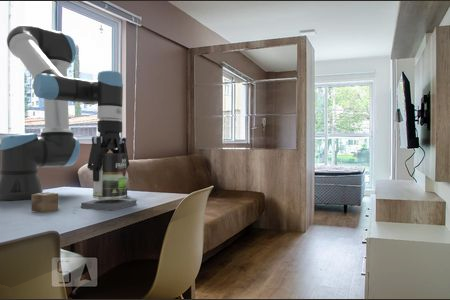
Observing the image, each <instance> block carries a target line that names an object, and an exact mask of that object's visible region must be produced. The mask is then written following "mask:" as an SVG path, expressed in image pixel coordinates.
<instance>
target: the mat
mask: <svg viewBox="0 0 450 300" xmlns="http://www.w3.org/2000/svg"><path fill="white" fill-rule="evenodd" d="M135 205H137V199H132V198H131V199H130V198H119V199H93V200H89V201H83V202H80V208H81V209H94V210H103V211H104V210H105V211H117V210H121V209H124V208H127V207H128V208H129V207H131V206H135Z"/></svg>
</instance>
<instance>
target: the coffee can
mask: <svg viewBox="0 0 450 300" xmlns="http://www.w3.org/2000/svg"><path fill="white" fill-rule="evenodd" d="M127 153H128V152H127ZM127 153H121V154H114V153H113V152H107V154H104V153H103V154H102V153H99V157H103V162H102V167H101V170H100V171H103V185H102V192H94V181H93V180H92V182H93V183H92V198H93V199H94V200H97V199H119V198H120V199H125V198H126V197H127V196H126V188H127V184H126V171H127V168H126V156H127Z"/></svg>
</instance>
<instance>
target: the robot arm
mask: <svg viewBox="0 0 450 300" xmlns="http://www.w3.org/2000/svg"><path fill="white" fill-rule="evenodd" d="M6 44H7V48H8V49H9V52H10V53H11V54H12V55H13V56H14V57H16V58H18V59H20V61H21V62H22V65H24V67H25V69H26V70H27V71H28V72H29V73H30V75H31V77H32V78H33V83H32V88H33V94H34V95H35V96H36V97H37V98H39V99H43V105H44V106H43V108H44V110H43V111H44V129H43V130H42V131H41V132H40V136H39V135H38V133H36V132H31V133H30V132H28V133H18V134H10V135H9V134H8V135H7V134H6V135H4V136H2V138H1V140H0V201H19V200H31V197H32V195H33V194H37V193H44V189H43V188H42V185H41V181H40V178H39V175H38V172H39V171H38V169H39V168H64V167H71V166H73V165H74V164H75V163H76V162H77V160H78V158H79V156H80V152H81V143H80V141H79V139H78V138H77V137H75V136H74V132H73V131H72V130H71V129H70V124H69V116H70V115H69V102H73V103H83V104H84V105H90V106H91V105H97V119H98V121H97V132H98V133H99V136H92V137H91V148H90V152H89V158H88V162H87V166H86V167H87V169H88V170H89V171H92V182H93V181H94V192H102V185H103V171H100V170H101V167H102V162H103V157H99V153H102V154H103V153H104V154H107V153H109V152H110V151H111V153H114V154H121V153H127V156H126V169H128V168H129V166H130V159H129V154H128V149H127V148H128V147H127V138H126V137H121V136H120V133H123V121H122V120H123V98H124V96H123V92H124V91H123V90H124V84H123V75H122V74H121V73H120V72H118V71H116V70H100V71H99V72H98V73H97V78H96V80H88V79H81V78H75V77H68V71H67V70H68V69H69V68H70V67H71V64H73V63H74V62H75V60H76V56H77V46H76V42H75V40H74V38H73V37H72V36H71V35H70V34H68V33H65V32H62V31H59V30H54V29H49V28H45V27H41V26H37V25H34V24H27V23H26V24H19V25H17V26H15V27H13V28H12V29H11V30H10V31H9V32H8V34H7V37H6Z"/></svg>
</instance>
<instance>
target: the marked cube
mask: <svg viewBox="0 0 450 300" xmlns="http://www.w3.org/2000/svg"><path fill="white" fill-rule="evenodd" d="M30 200H31V211H34V213H41V212H42V214H43V213H44V214H45V213H51V212H55V211H58V210H59V193H58V192H57V193H56V192H49V191H47V192H46V191H45V192H44V191H43V193H37V194H33V195H32V197H31V199H30Z"/></svg>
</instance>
